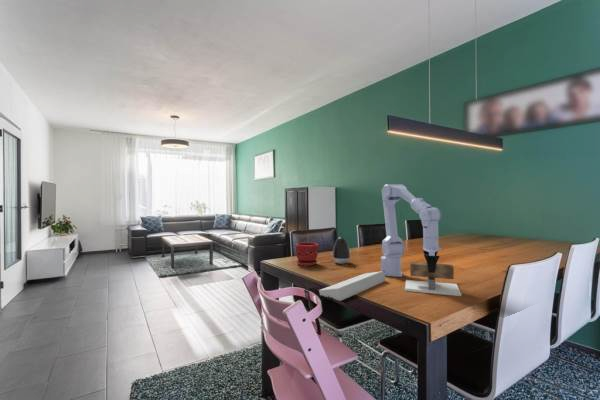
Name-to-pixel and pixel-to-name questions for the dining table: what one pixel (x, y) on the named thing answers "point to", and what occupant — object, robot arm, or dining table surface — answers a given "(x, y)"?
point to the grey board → (439, 289)
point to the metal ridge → (431, 283)
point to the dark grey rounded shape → (341, 251)
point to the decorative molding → (353, 285)
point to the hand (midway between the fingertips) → (431, 270)
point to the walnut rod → (440, 272)
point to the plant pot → (306, 253)
